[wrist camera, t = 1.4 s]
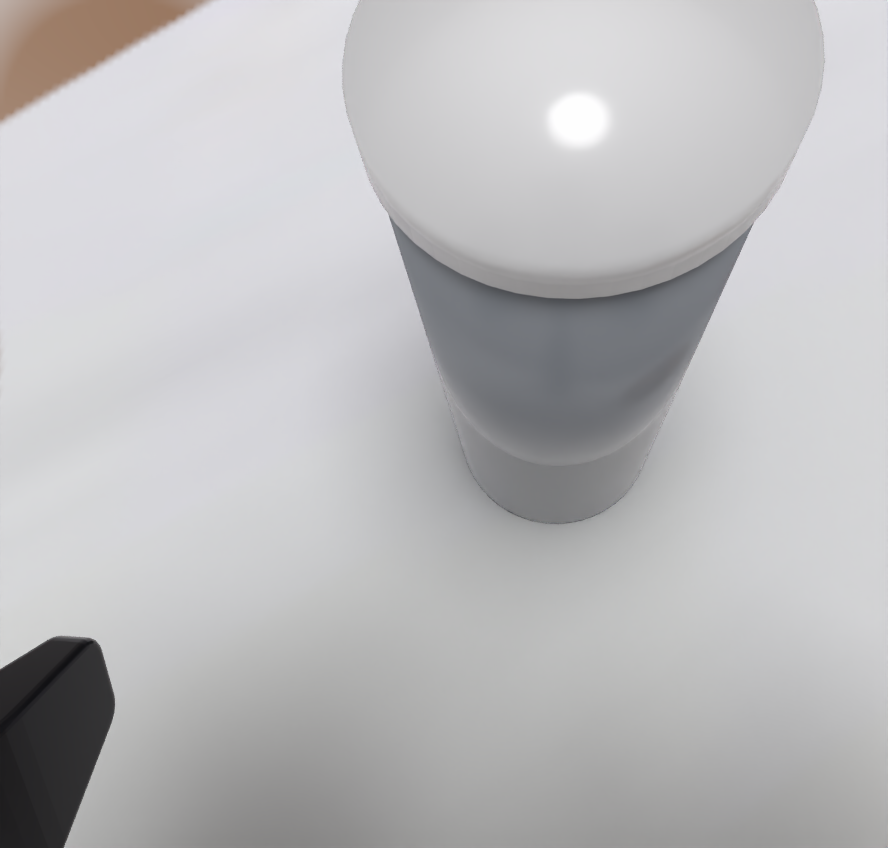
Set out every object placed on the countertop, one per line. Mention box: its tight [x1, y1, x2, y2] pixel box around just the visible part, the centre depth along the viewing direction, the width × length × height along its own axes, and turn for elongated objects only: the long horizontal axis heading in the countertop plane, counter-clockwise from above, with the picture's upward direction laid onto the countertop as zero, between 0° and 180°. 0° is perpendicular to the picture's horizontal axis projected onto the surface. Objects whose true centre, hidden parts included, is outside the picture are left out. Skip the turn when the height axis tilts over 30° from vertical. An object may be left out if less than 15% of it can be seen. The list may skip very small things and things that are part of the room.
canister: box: [342, 0, 825, 524], centre depth 15 cm, size 5×5×14 cm
